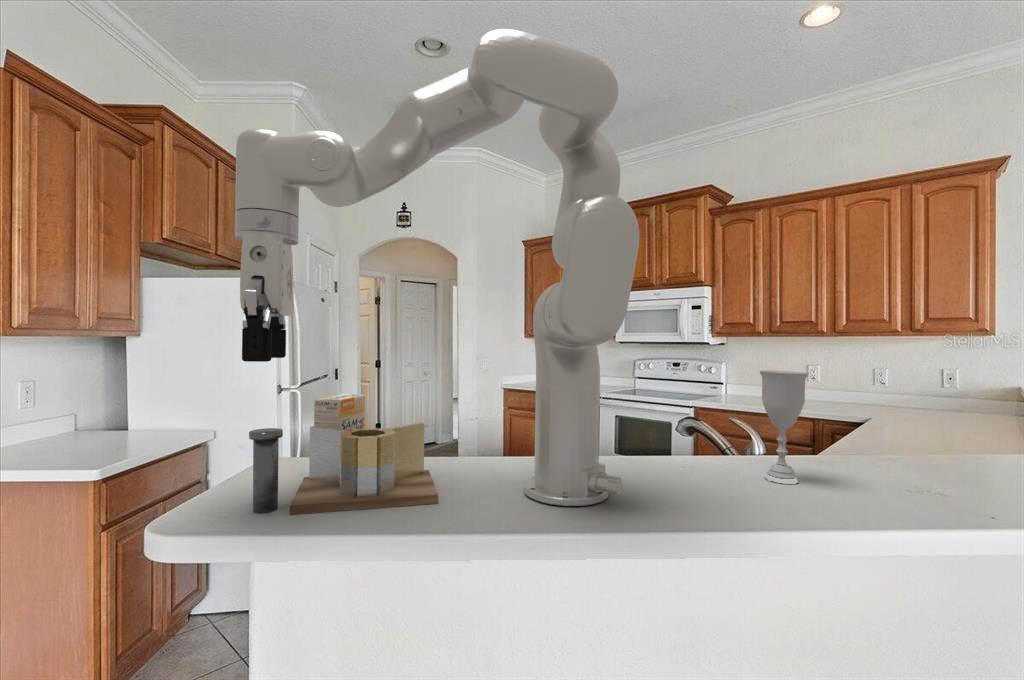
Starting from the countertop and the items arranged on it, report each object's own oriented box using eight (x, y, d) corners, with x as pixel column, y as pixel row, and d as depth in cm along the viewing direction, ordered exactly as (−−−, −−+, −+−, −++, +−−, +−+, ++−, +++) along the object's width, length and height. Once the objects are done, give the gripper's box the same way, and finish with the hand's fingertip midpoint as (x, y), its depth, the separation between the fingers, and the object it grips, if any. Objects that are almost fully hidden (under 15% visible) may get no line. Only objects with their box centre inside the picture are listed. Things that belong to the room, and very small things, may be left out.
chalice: (807, 479, 83) (809, 372, 83) (806, 489, 77) (808, 374, 77) (759, 472, 87) (761, 369, 87) (754, 481, 81) (756, 372, 81)
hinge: (430, 492, 70) (431, 435, 70) (299, 501, 65) (299, 441, 65) (423, 471, 80) (423, 422, 80) (310, 478, 76) (310, 425, 76)
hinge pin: (287, 508, 66) (288, 430, 66) (257, 517, 63) (257, 435, 63) (272, 502, 68) (273, 427, 68) (242, 509, 65) (243, 431, 65)
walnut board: (437, 503, 69) (438, 494, 69) (289, 514, 64) (289, 505, 64) (428, 477, 81) (428, 469, 81) (304, 484, 76) (304, 477, 76)
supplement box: (339, 483, 78) (340, 399, 77) (312, 480, 78) (312, 398, 78) (365, 469, 86) (366, 393, 86) (340, 467, 87) (340, 392, 86)
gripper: (286, 217, 58) (284, 363, 58) (307, 243, 75) (305, 356, 75) (214, 211, 56) (212, 363, 56) (252, 239, 73) (250, 356, 73)
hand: (265, 359), depth 65 cm, fingers open, 9 cm apart
